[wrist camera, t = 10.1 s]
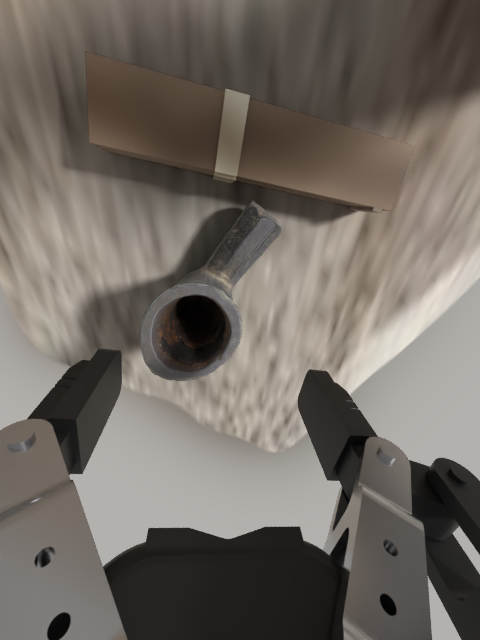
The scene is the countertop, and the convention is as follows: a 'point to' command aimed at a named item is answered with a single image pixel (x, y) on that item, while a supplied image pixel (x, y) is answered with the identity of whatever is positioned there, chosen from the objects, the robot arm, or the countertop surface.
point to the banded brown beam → (239, 137)
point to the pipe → (205, 304)
